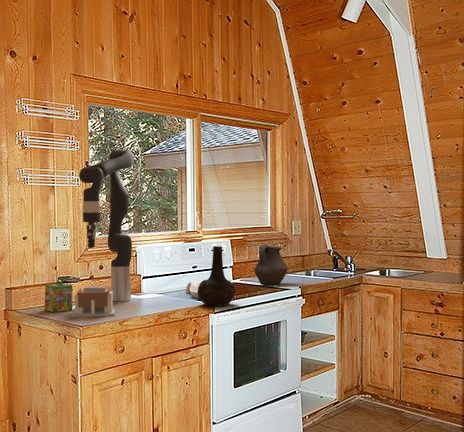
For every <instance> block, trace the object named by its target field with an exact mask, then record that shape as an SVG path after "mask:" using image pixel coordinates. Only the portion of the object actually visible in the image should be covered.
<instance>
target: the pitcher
mask: <svg viewBox="0 0 464 432" xmlns="http://www.w3.org/2000/svg"><path fill="white" fill-rule="evenodd" d="M282 249H283V247H281V246H272V245H268V244H262V245H260V246H258V256H259V257H258V261H257V263H256V265H255V267H254V274H255V276H256V277H257V279H258V281H259V283H260V285H261V284H264V285H263V286H266V285H277V286H280V284H281V283H282V282H283V280H284V278H285V276H286V275H287V272H288V266H287V264H286V263H285V262H284V260H283V258H282V254H281V252H280V251H281V250H282Z"/></svg>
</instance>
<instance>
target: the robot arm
mask: <svg viewBox="0 0 464 432" xmlns="http://www.w3.org/2000/svg"><path fill="white" fill-rule="evenodd" d="M134 158H135V157H134V154H133V152H132V151H130V150H126V149H123V150H122V149H121V150H120V149H119V150H118V149H117V150H116V149H115V150H112V151H111V152H110V154H109V159H106V160H102V161H100V162H98V163H96V164H93V165H89V166H85V167H83V168H82V169H80V171H79V174H78V178H79V180H80V181H81V182H82V183H85V184H91V186H90V187H87V188H84V190H83V192H82V193H83V194H82V195H83V198H82V199H83V201H82V202H83V203H82V222H83V223H88V224H87V225H86V238H87V248H88V249H93V248H94V247H95V246H96V243H95V242H96V240H95V239H96V235H97V234H96V233H97V226H96V224H95V223H100V221H101V204H100V193H101V192H100V190H101V187H102V185H103V180H104V178H105V177H107V176H109V177H110V192H109V193H110V194H109V195H110V197H109V198H110V199H109V213H110V214H109V226H108V236H107V247H108V249H109V251H111V253H116V254H117V255H116V257H115V258H114V259H112V260H111V261H110V282H111V283H110V291H112V302H128V301H130V300H131V299H132V295H131V294H132V291H131V290H132V289H131V287H132V282H131V264H130V263H131V261H132V251H133V243H132V242H133V241H132V238H131V236H130V235H128V234H126V233H122V225H123V221H124V220H125V217H126V215H127V213H128V212H129V211H128V210H129V206H130V196H129V195H130V194H129V192H128V189H127V188H126V187H125V184H124V183H123V181H122V179H121V174H120V171H121V170H125V169H129V168H131V167H132V166H134V161H135V159H134Z"/></svg>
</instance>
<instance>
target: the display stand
mask: <svg viewBox="0 0 464 432" xmlns="http://www.w3.org/2000/svg"><path fill="white" fill-rule="evenodd" d="M106 288H107V287H106V285H101V286H99V285H97V286H96V285H95V286H93V285H92V286H84V287H83V292H107V291H108V290H107V289H106ZM116 310H117V308H116V307H115V308H113V301H112V291H111V290H110V293H109V294H108V306H107V307H96V300H90V307H78V295H77V292H76V293H74V309H73V310H72V311H71V314H70V318H87V317H88V318H89V317H93V318H94V317H95V318H96V317H115V316H116V312H117V311H116Z"/></svg>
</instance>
